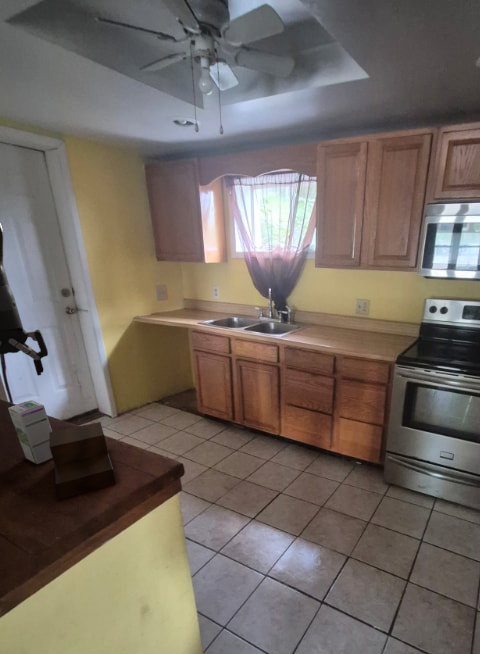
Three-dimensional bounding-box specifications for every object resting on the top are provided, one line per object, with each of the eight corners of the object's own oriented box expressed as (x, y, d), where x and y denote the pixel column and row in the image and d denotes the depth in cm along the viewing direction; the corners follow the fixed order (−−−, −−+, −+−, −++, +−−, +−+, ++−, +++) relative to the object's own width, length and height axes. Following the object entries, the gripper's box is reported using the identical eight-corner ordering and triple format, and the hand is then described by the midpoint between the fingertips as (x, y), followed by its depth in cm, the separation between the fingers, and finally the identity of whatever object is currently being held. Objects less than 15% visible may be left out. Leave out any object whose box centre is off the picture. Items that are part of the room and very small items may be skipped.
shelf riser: (60, 499, 80) (49, 464, 76) (58, 464, 92) (49, 432, 88) (116, 483, 85) (108, 449, 81) (107, 452, 97) (100, 421, 94)
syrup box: (60, 454, 96) (45, 403, 90) (35, 465, 91) (18, 412, 86) (48, 448, 99) (33, 398, 93) (24, 459, 94) (6, 407, 88)
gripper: (35, 302, 86) (53, 368, 93) (-44, 307, 79) (-19, 378, 86) (34, 307, 81) (53, 377, 87) (-52, 313, 74) (-24, 388, 80)
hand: (17, 377), depth 86 cm, fingers open, 8 cm apart
